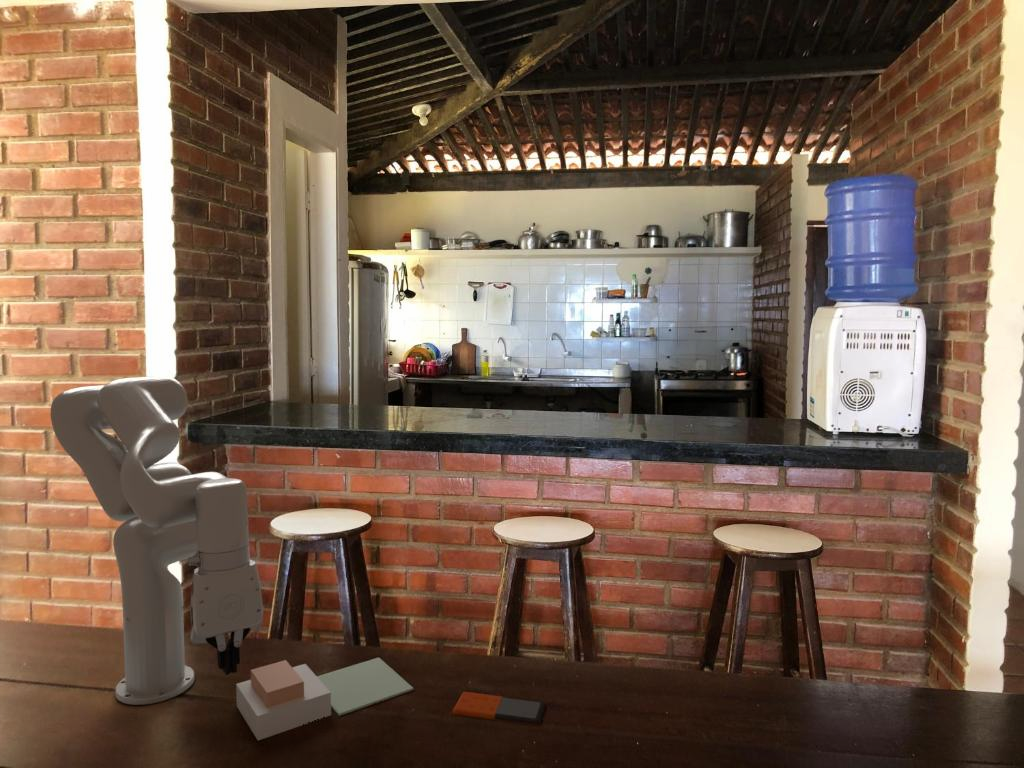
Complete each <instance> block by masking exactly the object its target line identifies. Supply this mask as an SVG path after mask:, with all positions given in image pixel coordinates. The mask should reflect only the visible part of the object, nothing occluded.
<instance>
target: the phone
mask: <svg viewBox="0 0 1024 768" xmlns="http://www.w3.org/2000/svg"><path fill="white" fill-rule="evenodd" d="M545 709H546V704H545V702H544V701H537V700H531V699H523V698H514V697H509V696H499V695H493V694H492V695H491V694H485V693H484V694H483V693H477V692H469V691H463V692H462V693H461V695H460V696H459V699H458V700H457V702H456V704H455V705H454V708H453V709H452V714H453V715H457V716H463V717H469V718H470V717H471V718H477V719H478V718H479V719H486V720H493V721H494V720H495V721H501V722H508V723H516V724H522V725H523V724H524V725H530V726H539V725H541V720H542V717H543V715H544V712H545Z"/></svg>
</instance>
